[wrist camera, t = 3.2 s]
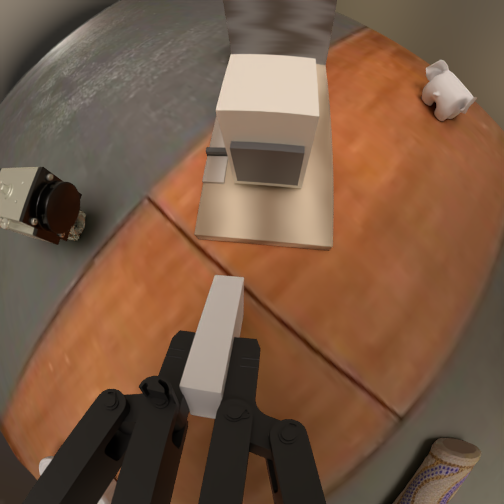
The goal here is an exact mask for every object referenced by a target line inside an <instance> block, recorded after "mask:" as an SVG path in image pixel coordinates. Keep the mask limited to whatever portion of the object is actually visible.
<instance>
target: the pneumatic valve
mask: <svg viewBox="0 0 504 504" xmlns="http://www.w3.org/2000/svg"><path fill="white" fill-rule="evenodd" d="M81 196H82V194H80V193H79V192H78V191H77V189H76V187H75V186H74V185H73V184H71V183H69V182H63V181H62V180H60V179H59V178H58V177H56V176H55V175H53V174H52V173H51V172H49V171H48V170H47V169H45V168H44V167H22V168H1V169H0V228H4V229H6V230H7V229H8V230H11V231H13V232H16V233H20V234H23V235H26V236H29V237H33V238H36V239H39V240H43V241H46V242H50V243H53V244H57V245H58V244H59V240H64V241H67V240H68V239H69V240H73V241H77V240H79V239H80V235H79V234H80V233H82V232H83V230H84V228H85V218H86V214H85V212H83V211H79V210H80V198H81Z"/></svg>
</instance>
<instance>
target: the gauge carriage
mask: <svg viewBox="0 0 504 504" xmlns="http://www.w3.org/2000/svg"><path fill="white" fill-rule="evenodd" d="M216 113H217V117H218V121H219V125H220V129H221V133H222V136H223V140H224V144H225V148H222V147H207V148H206V154H215V155H227V156H228V160H229V163H230V167H231V171H232V175H233V179H234V183H239V184H255V185H268V186H280V187H291V188H302V185H303V181H304V177H305V173H306V169H307V165H308V161H309V157H310V153H311V149H312V145H313V141H314V137H315V132H316V128H317V124H318V120H319V101H318V84H317V71H316V59H314V58H306V57H296V56H284V55H265V54H231V56H230V59H229V63H228V66H227V70H226V73H225V77H224V81H223V84H222V88H221V92H220V96H219V99H218V103H217V107H216Z"/></svg>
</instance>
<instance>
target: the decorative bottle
mask: <svg viewBox="0 0 504 504" xmlns="http://www.w3.org/2000/svg"><path fill="white" fill-rule="evenodd" d="M481 454H482V453H481V451H480V450H479V449H478V448H477V447H476V446H475V445H473V444H470V443H468V442H466V441H463V440H459V439H455V438H440V439H438V440H436V441H435V442H434V443H433V445H432V447H431V450H430V452H429V454H428V455H427V457H426V458H425V460H424V461H423V463H422V464H421V466H420V467H419V468H418V470H417V471H416V473H415V474H414V476H413V477H412V479H411V480H410V481H409V482H408V484H407V485H406V487H405V488H404V490H403V491H402V492H401V493H400V495H399V496H398V497H397V498H396V500H395V501H394V502H393V504H447V503H448V502H449V500H450V499H451V498H452V497H453V496H454V495H455V493H456V492H457V490H458V489H459V488H460V486H461V485H462V483H463V482H464V480H465V479H466V478H467V476H468V475H469V473H470V471H471V470H472V468H473V467H474V465H475V464H476V463H477V462H478V461H479V459H480V456H481Z"/></svg>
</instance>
